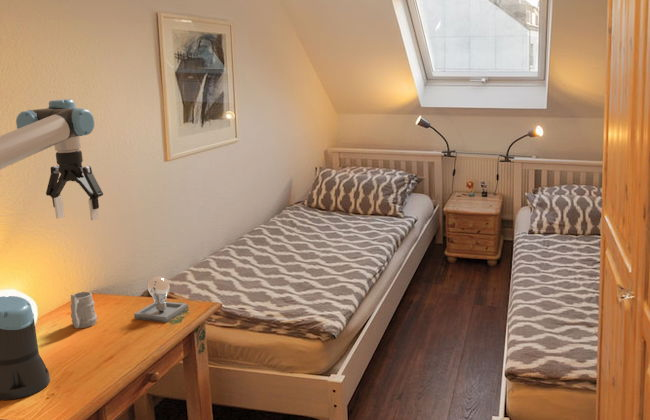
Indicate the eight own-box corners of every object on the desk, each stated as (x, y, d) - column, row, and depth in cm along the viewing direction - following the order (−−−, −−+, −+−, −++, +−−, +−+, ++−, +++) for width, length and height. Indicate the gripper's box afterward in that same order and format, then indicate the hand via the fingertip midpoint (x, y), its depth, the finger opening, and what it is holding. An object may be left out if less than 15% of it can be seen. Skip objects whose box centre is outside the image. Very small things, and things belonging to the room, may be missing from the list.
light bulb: (165, 306, 234) (161, 272, 231) (176, 310, 229) (172, 276, 226) (146, 312, 230) (142, 277, 227) (157, 317, 225) (153, 281, 222)
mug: (101, 319, 228) (96, 284, 225) (87, 333, 216) (82, 296, 214) (78, 319, 228) (73, 284, 226) (63, 334, 217) (58, 297, 214)
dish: (166, 322, 222) (166, 317, 221) (134, 318, 226) (134, 313, 226) (188, 308, 233) (187, 303, 232) (157, 305, 237) (156, 300, 237)
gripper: (109, 149, 211) (117, 217, 216) (45, 148, 221) (55, 214, 225) (92, 152, 204) (101, 222, 209) (27, 152, 214) (37, 219, 218)
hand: (77, 218), depth 217 cm, fingers open, 13 cm apart
